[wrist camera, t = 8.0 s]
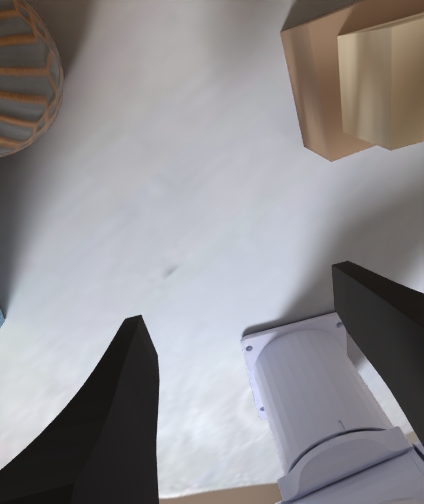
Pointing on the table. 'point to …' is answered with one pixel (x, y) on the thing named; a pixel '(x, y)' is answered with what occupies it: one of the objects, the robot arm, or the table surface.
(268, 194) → the table surface
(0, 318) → the gum box
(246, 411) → the table surface
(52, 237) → the table surface
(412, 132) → the beech cube
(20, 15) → the vase
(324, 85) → the tan wooden block
